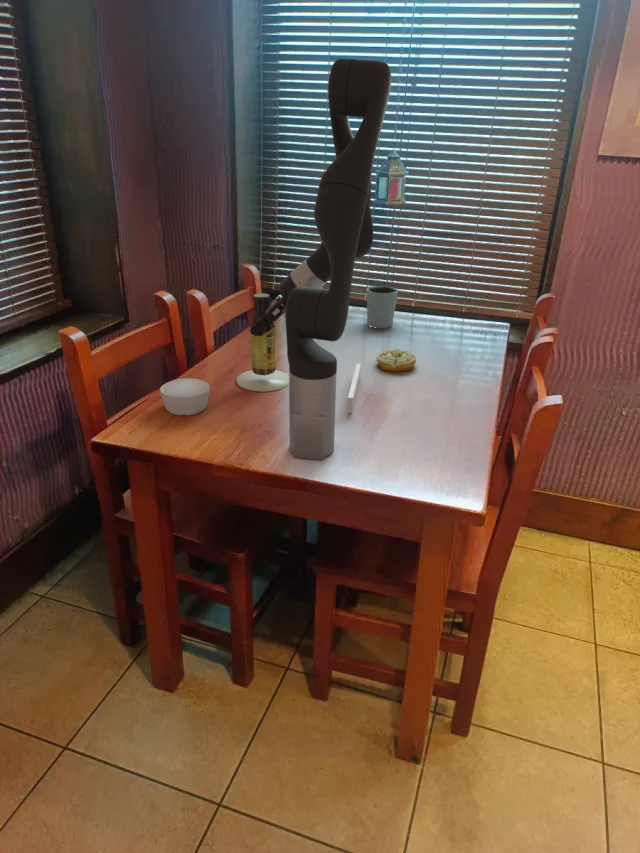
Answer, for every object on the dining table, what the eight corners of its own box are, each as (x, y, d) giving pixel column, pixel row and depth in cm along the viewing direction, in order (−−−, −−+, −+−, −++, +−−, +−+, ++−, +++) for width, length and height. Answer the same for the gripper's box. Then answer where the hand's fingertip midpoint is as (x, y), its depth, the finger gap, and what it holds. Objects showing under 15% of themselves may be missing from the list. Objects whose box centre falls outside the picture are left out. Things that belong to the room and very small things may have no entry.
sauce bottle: (272, 377, 150) (270, 300, 141) (248, 375, 151) (244, 298, 142) (279, 367, 156) (277, 292, 147) (256, 365, 157) (252, 291, 148)
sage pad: (284, 393, 148) (284, 392, 148) (229, 389, 150) (229, 387, 149) (295, 372, 160) (295, 371, 160) (244, 368, 162) (244, 367, 162)
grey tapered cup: (361, 327, 196) (363, 291, 191) (368, 319, 205) (370, 284, 199) (392, 331, 194) (395, 294, 188) (397, 322, 202) (400, 287, 197)
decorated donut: (368, 364, 167) (369, 352, 165) (396, 357, 173) (397, 344, 171) (394, 376, 160) (395, 363, 158) (422, 367, 166) (424, 355, 164)
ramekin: (159, 401, 143) (156, 381, 140) (205, 395, 146) (204, 375, 144) (165, 421, 133) (163, 400, 131) (215, 414, 137) (213, 393, 135)
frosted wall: (352, 413, 139) (352, 397, 137) (347, 413, 139) (347, 397, 137) (360, 377, 158) (361, 363, 156) (355, 377, 158) (356, 363, 156)
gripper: (297, 265, 147) (252, 309, 154) (285, 279, 135) (237, 327, 142) (318, 287, 149) (272, 330, 156) (309, 303, 136) (259, 349, 143)
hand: (256, 328), depth 149 cm, fingers closed on sauce bottle, 6 cm apart
